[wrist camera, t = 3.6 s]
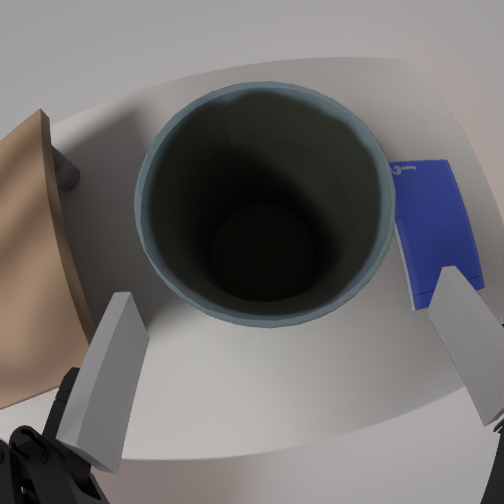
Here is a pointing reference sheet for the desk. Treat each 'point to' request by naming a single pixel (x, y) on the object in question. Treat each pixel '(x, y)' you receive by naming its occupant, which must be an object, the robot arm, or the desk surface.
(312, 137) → the teal plant pot
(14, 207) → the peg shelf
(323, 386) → the desk surface
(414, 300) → the hard drive
